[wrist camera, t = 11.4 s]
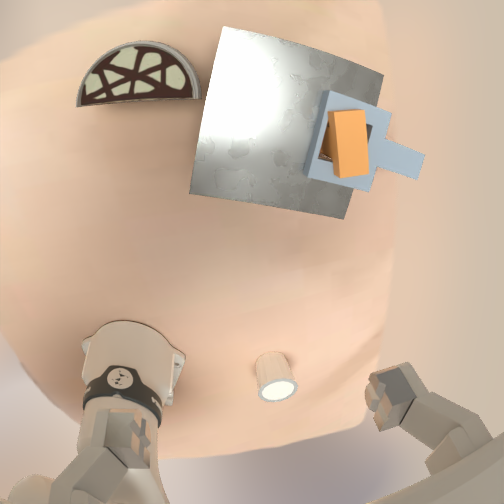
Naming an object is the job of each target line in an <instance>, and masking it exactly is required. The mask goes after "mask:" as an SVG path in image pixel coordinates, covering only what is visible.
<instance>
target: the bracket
mask: <svg viewBox="0 0 504 504" xmlns="http://www.w3.org/2000/svg"><path fill="white" fill-rule="evenodd" d="M349 109H361V110H365V118H366V129H367V143H368V159H369V174H366V175H359V176H353V177H346V178H339V177H337V176H336V175H334V170H333V161H331V160H327V159H323V158H319V157H318V156H319V153H320V149H321V145H322V141H323V137H324V133H325V130H326V126H327V122H328V112H327V111H336V110H349ZM391 114H392V113H390V112H387V111H385V110H383V109H380V108H378V107H375V106H373V105H370V104H367V103H365V102H362V101H359V100H357V99H354V98H351V97H348V96H345V95H343V94H340V93H337V92H334V91H331V90H324V92H323V96H322V100H321V104H320V108H319V112H318V116H317V120H316V124H315V128H314V132H313V136H312V140H311V144H310V148H309V152H308V156H307V159H306V163H305V167H304V171H303V174H304V175H305V176H306V177H308V178H312V179H317V180H321V181H326V182H330V183H334V184H338V185H342V186H347V187H351V188H355V189H359V190H362V191H366V192H369V191H370V188H371V184H372V181H373V178H374V175H375V171H376V168H377V167H380V168H383V169H386V170H389V171H392V172H395V173H398V174H401V175H404V176H407V177H410V178H413V179H415V180H417V179H418V176H419V173H420V170H421V167H422V163H423V160H424V157H425V155H424V154H422V153H420V152H417V151H415V150H412V149H410V148H408V147H405V146H402V145H400V144H397V143H395V142H392V141H390V140H387V139H385V137H386V133H387V129H388V125H389V122H390V118H391Z"/></svg>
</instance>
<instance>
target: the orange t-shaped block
mask: <svg viewBox="0 0 504 504" xmlns="http://www.w3.org/2000/svg"><path fill="white" fill-rule="evenodd" d="M327 112H328V122H327V126H326V130H325V133H324V137H323V141H322V145H321V149H320V153H322V154H324V155H326V156H328V157H330V158H332V159H333V170H334V175H336V176H337V177H339V178H346V177H353V176H359V175H366V174H369V159H368V143H367V129H366V118H365V110H361V109H349V110H336V111H327Z"/></svg>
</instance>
